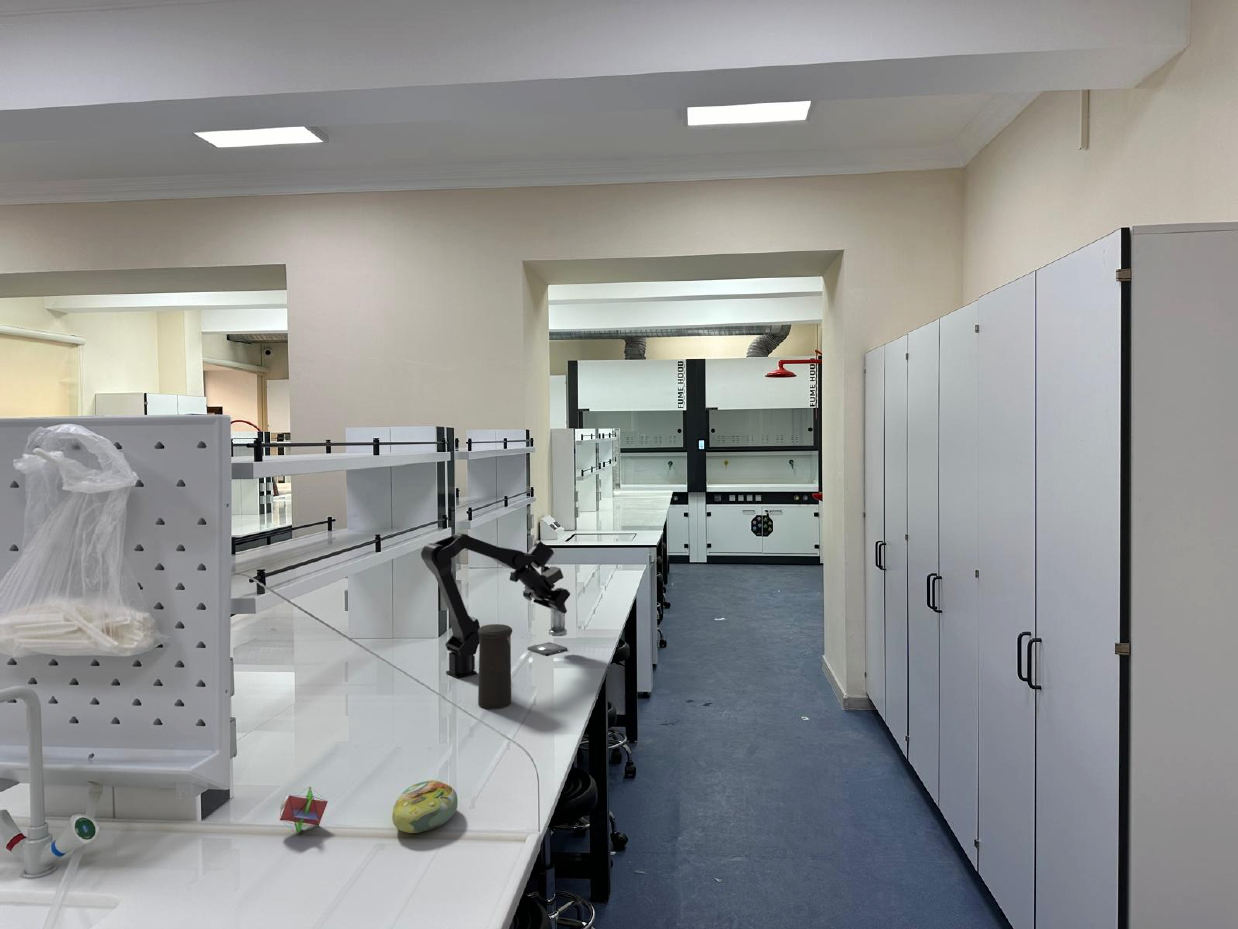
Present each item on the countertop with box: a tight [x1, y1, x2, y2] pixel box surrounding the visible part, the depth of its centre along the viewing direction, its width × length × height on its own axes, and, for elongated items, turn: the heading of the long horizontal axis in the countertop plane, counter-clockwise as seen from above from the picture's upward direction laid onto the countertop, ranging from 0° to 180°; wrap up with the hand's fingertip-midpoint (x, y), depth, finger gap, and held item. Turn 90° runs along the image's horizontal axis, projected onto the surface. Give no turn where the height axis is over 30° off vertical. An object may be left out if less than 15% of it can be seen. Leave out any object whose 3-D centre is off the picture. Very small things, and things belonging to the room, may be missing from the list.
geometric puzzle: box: [279, 787, 329, 837], centre depth 134 cm, size 7×7×8 cm
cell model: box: [391, 779, 458, 834], centre depth 138 cm, size 11×8×15 cm
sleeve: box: [548, 587, 568, 637], centre depth 242 cm, size 6×6×14 cm
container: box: [477, 623, 513, 710], centre depth 197 cm, size 9×9×20 cm
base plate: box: [526, 641, 568, 656], centre depth 247 cm, size 9×9×1 cm
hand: (561, 611), depth 243 cm, fingers closed on sleeve, 4 cm apart
